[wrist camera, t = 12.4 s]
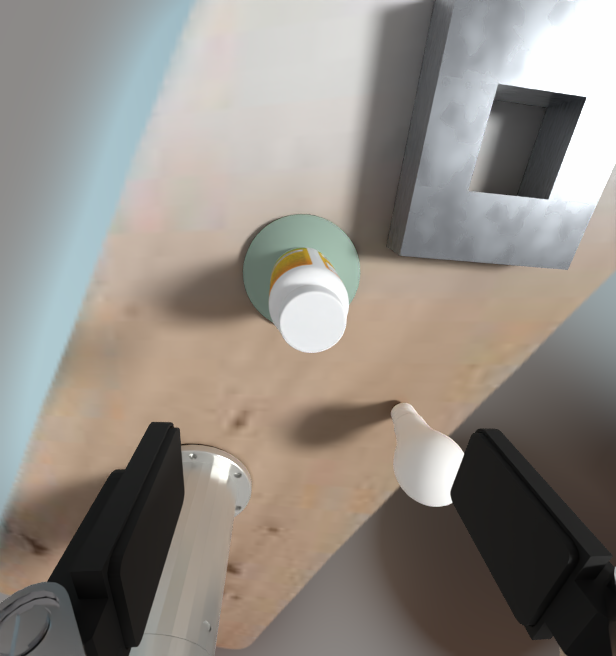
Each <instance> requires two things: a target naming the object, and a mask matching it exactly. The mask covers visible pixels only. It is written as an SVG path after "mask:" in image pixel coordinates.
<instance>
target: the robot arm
mask: <svg viewBox="0 0 616 656" xmlns="http://www.w3.org/2000/svg"><path fill="white" fill-rule="evenodd" d="M251 489H252V481H251V477H250V474H249V472H248V470H247V468H246V467H245V466H244V465H243V464H242V462H241V461H239V460H238V459H237V458H236V457H234V456H233V455H231V454H229V453H227V452H225V451H223V450H220V449H217V448H214V447H210V446H204V445H183V446H181V440H180V429H179V428H174V426H173V423H171V422H152V423H151V424H150V425H149V427H148V428H147V430H146V432H145V434H144V436H143V438H142V440H141V441H140V443H139V445H138V447H137V449H136V451H135V452H134V454H133V456H132V458H131V460H130V462H129V463H128V465H127V467H126V469H125V470H114V471H113V472H112V473H111V474H110V476H109V477H108V479H107V481H106V482H105V484H104V486H103V487H102V489H101V491H100V492H99V494H98V496H97V498H96V499H95V501H94V503H93V504H92V506H91V508H90V510H89V511H88V513H87V515H86V516H85V518H84V520H83V521H82V523H81V525H80V527H79V528H78V530H77V532H76V533H75V535H74V537H73V539H72V540H71V542H70V544H69V545H68V547H67V549H66V550H65V552H64V554H63V556H62V557H61V559H60V561H59V562H58V564H57V566H56V567H55V569H54V571H53V573H52V574H51V576H50V578H49V579H48V581H47V582H42V583H37V584H33V585H30V586H28V587H26V588H24V589H22V590H19V591H17V592H15V593H14V594H13V595H11V596H10V597H8V598H7V599H5V600H4V601H3V602H1V603H0V656H214V653H215V647H216V640H217V633H218V626H219V619H220V612H221V605H222V598H223V591H224V584H225V577H226V570H227V563H228V556H229V549H230V542H231V535H232V528H233V521H234V517H235V516H237V515H238V514H239V513H240V512H242V511H243V509H244V508H245V507H246V506H247V504H248V502H249V500H250V496H251ZM450 496H451V500H452V502H453V504H454V506H455V508H456V510H457V512H458V513H459V515H460V517H461V519H462V521H463V523H464V524H465V526H466V528H467V530H468V532H469V534H470V535H471V537H472V539H473V541H474V543H475V545H476V546H477V548H478V550H479V552H480V554H481V556H482V557H483V559H484V561H485V563H486V565H487V566H488V568H489V570H490V572H491V574H492V576H493V578H494V579H495V581H496V583H497V585H498V587H499V588H500V590H501V592H502V594H503V596H504V598H505V599H506V601H507V603H508V605H509V607H510V609H511V610H512V612H513V614H514V616H515V618H516V619H517V620H518V622H519V623H520V624H522V625H524V626H525V628H526V630H527V632H528V634H529V635H530V637H531V639H532V640H538V639H551V638H552V636H554V637H555V639H556V641H557V643H558V644H559V646H560V656H616V567H615V568H614V566H613V565H612V564H611V563H610V562H609V560H610V559H611V557H612V554H611V553H610V552H609V551H608V550H607V549H606V548H605V547H604V546H603V544H602V543H601V542H600V541H599V540H598V539H597V538H596V537H595V536H594V534H593V533H592V532H591V531H590V530H589V529H588V528H587V527H586V526H585V525H584V523H583V522H582V521H581V520H580V519H579V518H578V517H577V516H576V514H575V513H574V512H573V511H572V510H571V509H570V508H569V507H568V506H567V504H566V503H565V502H564V501H563V500H562V499H561V498H560V497H559V496H558V494H557V493H556V492H555V491H554V490H553V489H552V488H551V487H550V486H549V485H548V484H547V482H546V481H545V480H544V479H543V478H542V477H541V476H540V475H539V474H538V472H537V471H536V470H535V469H534V468H533V467H532V466H531V465H530V463H529V462H528V461H527V460H526V459H525V458H524V457H523V456H522V455H521V453H520V452H519V451H518V450H517V449H516V448H515V447H514V446H513V445H512V443H511V442H510V441H509V440H508V439H507V438H506V437H505V436H504V435H503V433H502V432H501V431H499V430H498V429H478V430H477V431H476V432H475V433H473V434H472V435H471V438H470V440H469V443H468V445H467V448H466V451H465V453H464V456H463V459H462V461H461V464H460V466H459V469H458V472H457V474H456V477H455V480H454V482H453V485H452V488H451V491H450Z"/></svg>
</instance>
